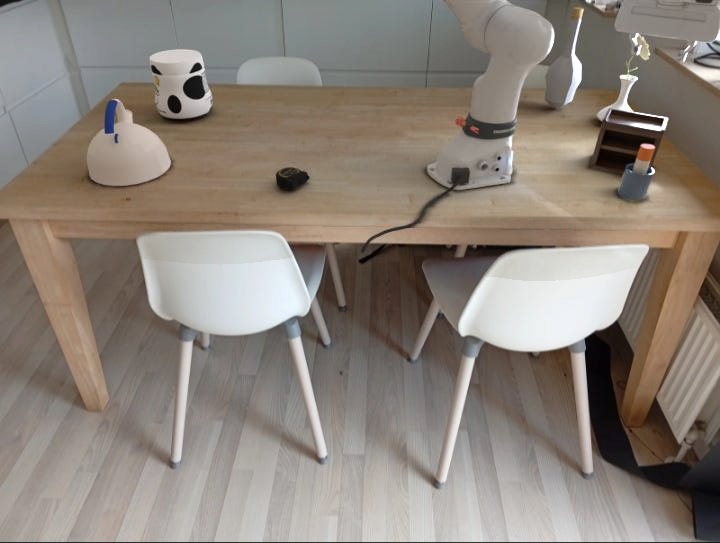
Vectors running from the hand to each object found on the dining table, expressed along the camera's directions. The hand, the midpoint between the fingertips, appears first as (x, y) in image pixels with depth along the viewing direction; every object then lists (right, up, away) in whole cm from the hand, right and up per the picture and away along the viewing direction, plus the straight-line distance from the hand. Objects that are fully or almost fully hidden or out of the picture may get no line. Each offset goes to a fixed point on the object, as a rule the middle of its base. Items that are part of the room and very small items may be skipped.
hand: (657, 57), depth 118 cm
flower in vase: (+14, -1, +48) cm, 50 cm away
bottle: (-1, +6, +58) cm, 58 cm away
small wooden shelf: (+3, -20, +23) cm, 30 cm away
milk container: (-120, +3, +54) cm, 132 cm away
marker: (0, -28, +11) cm, 30 cm away
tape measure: (-82, -26, +15) cm, 87 cm away
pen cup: (0, -29, +11) cm, 31 cm away
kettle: (-125, -20, +23) cm, 129 cm away
